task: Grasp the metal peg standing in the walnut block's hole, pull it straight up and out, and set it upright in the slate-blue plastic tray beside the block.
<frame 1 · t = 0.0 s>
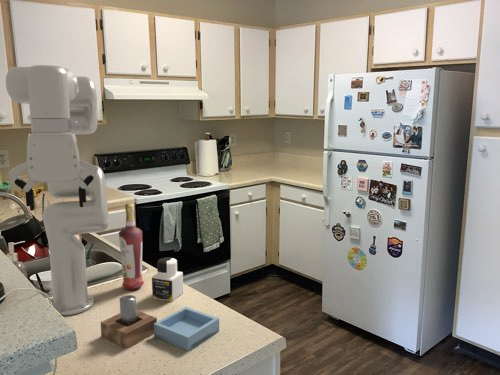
hand: (57, 207, 95), 37 cm above the counter, tool pointing down, fingers open, 9 cm apart
hole block: (129, 334, 116), on the counter
peg: (128, 316, 115), in the hole block
liquor: (133, 287, 146), on the counter
tray: (187, 333, 117), on the counter
medicine bottle: (168, 296, 140), on the counter
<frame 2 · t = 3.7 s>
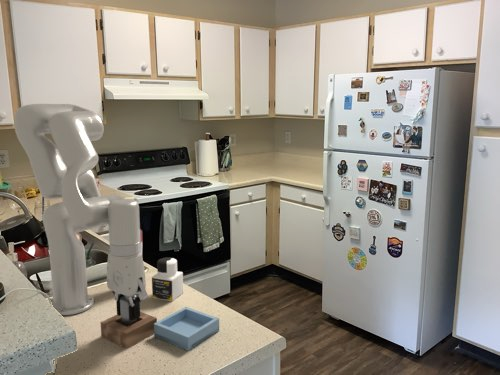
hand: (128, 315, 115), 5 cm above the counter, tool pointing down, fingers closed on peg, 4 cm apart
peg: (128, 316, 115), in the hole block, touching gripper
everything else where it was.
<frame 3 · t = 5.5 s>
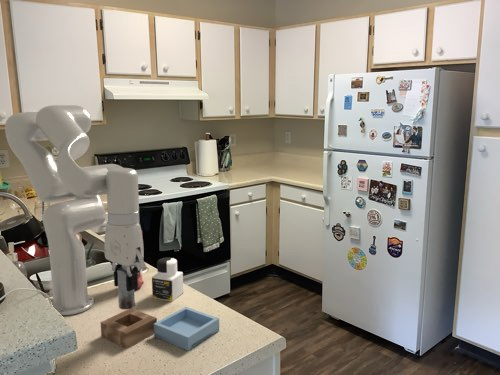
hand: (126, 286, 114), 13 cm above the counter, tool pointing down, fingers closed on peg, 4 cm apart
peg: (126, 287, 114), point 13 cm above the counter, touching gripper
everything else where it was.
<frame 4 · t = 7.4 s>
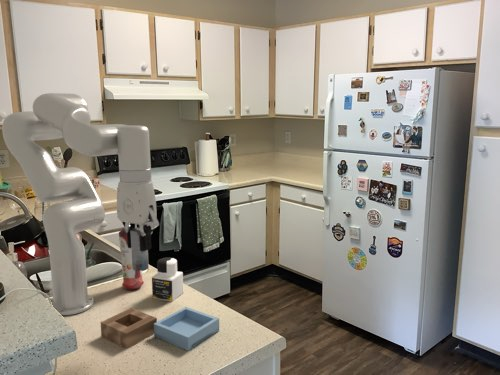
hand: (139, 247, 112), 24 cm above the counter, tool pointing down, fingers closed on peg, 4 cm apart
peg: (139, 249, 112), point 23 cm above the counter, touching gripper
everything else where it was.
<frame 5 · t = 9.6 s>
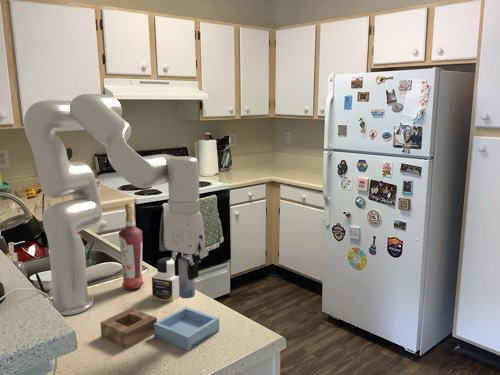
hand: (186, 275, 114), 16 cm above the counter, tool pointing down, fingers closed on peg, 4 cm apart
peg: (186, 276, 114), point 16 cm above the counter, touching gripper
everything else where it was.
when the fingers open (7 cm above the counter, at t = 11.5 s): peg stays where it is, resting on tray.
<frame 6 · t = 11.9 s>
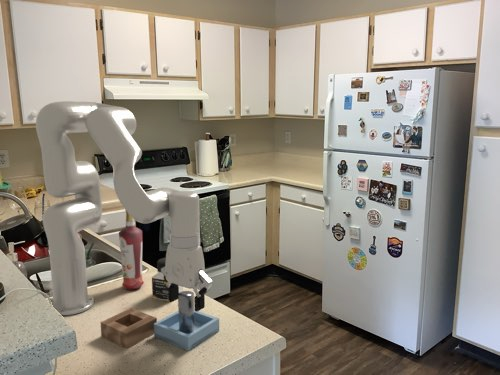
hand: (186, 304, 115), 8 cm above the counter, tool pointing down, fingers open, 8 cm apart
peg: (186, 312, 116), in the tray, point 6 cm above the counter
everything else where it was.
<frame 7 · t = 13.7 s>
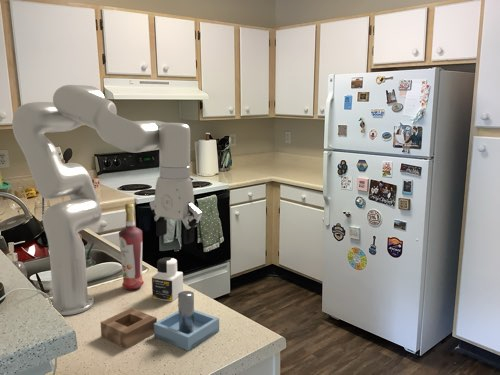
hand: (175, 238, 114), 25 cm above the counter, tool pointing down, fingers open, 9 cm apart
nothing on the counter moved.
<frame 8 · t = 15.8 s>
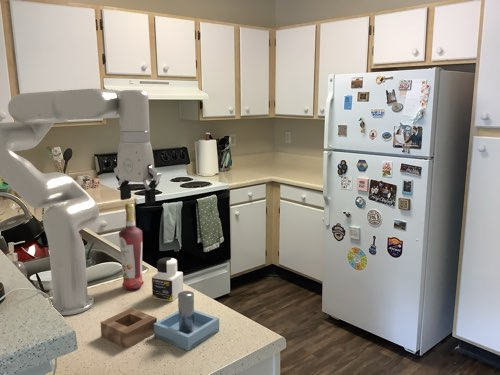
hand: (137, 201, 120), 33 cm above the counter, tool pointing down, fingers open, 9 cm apart
nothing on the counter moved.
at the end: peg inside the target area on the tray (0.1 cm from its centre), point 6.0 cm above the tray's base; the gripper is holding nothing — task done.
